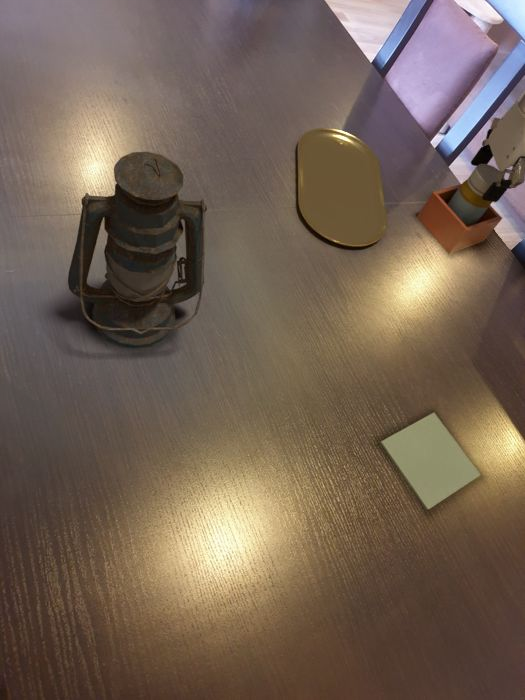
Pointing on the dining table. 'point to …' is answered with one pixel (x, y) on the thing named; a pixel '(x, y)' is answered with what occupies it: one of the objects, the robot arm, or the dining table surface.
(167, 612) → the dining table surface
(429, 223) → the box
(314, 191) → the serving platter
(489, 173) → the bottle
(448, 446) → the mat
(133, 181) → the lantern
